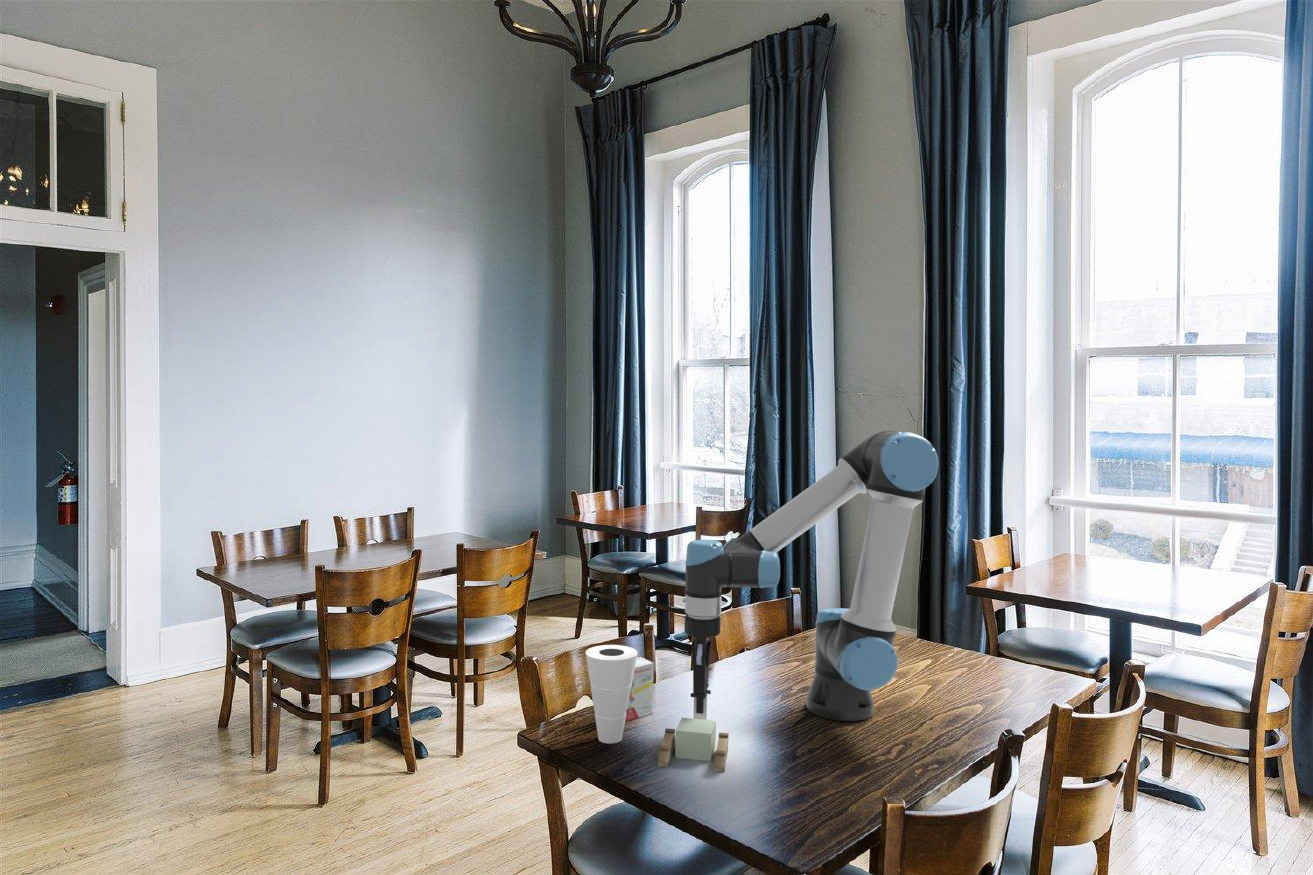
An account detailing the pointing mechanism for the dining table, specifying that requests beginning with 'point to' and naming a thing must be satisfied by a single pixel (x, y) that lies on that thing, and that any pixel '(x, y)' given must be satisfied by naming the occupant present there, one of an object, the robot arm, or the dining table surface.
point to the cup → (610, 687)
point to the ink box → (641, 690)
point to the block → (695, 739)
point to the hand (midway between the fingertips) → (699, 726)
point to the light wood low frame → (669, 744)
